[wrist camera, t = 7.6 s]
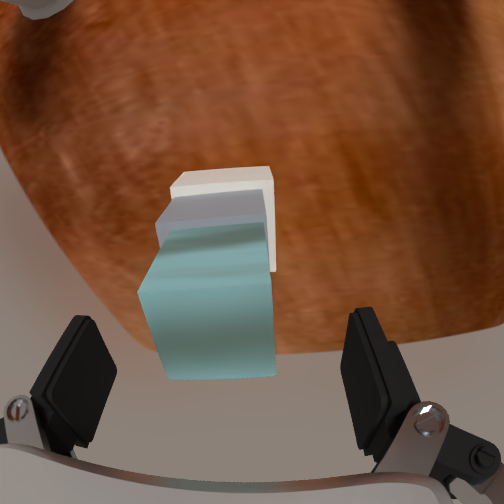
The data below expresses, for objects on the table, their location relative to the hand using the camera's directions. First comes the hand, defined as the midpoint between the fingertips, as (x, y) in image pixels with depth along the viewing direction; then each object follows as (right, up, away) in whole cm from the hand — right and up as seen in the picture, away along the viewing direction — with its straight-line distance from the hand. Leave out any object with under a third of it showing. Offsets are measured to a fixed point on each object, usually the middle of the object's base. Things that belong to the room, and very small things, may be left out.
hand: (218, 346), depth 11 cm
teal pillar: (-1, +2, +7) cm, 7 cm away
